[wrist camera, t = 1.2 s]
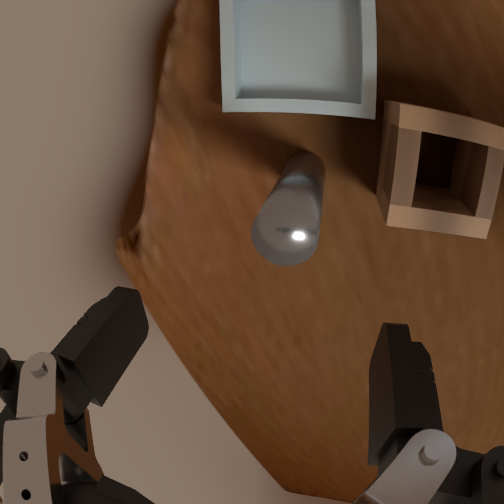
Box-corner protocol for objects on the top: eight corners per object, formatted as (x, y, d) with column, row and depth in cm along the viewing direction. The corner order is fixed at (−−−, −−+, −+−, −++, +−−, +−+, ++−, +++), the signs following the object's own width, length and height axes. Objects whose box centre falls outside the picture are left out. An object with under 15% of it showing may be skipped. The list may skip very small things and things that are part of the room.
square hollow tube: (473, 117, 19) (508, 129, 14) (459, 207, 23) (486, 239, 18) (384, 99, 20) (400, 103, 15) (375, 195, 24) (386, 225, 19)
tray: (369, -12, 16) (373, -22, 14) (370, 116, 21) (375, 119, 19) (229, -12, 18) (219, -21, 16) (232, 109, 24) (222, 112, 22)
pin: (326, 153, 24) (320, 208, 14) (324, 191, 25) (315, 269, 15) (286, 150, 24) (250, 202, 14) (285, 187, 26) (252, 262, 16)
